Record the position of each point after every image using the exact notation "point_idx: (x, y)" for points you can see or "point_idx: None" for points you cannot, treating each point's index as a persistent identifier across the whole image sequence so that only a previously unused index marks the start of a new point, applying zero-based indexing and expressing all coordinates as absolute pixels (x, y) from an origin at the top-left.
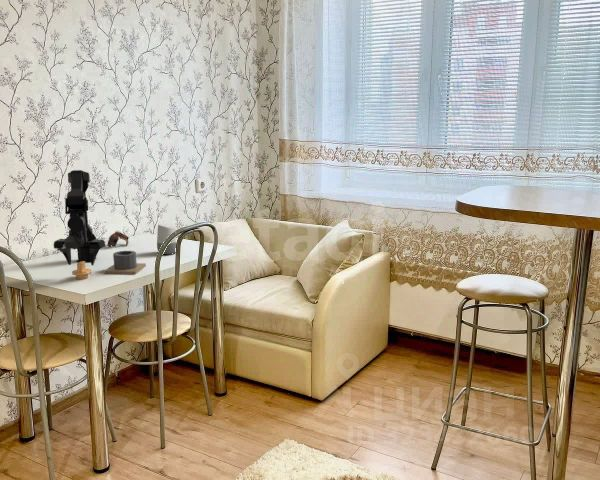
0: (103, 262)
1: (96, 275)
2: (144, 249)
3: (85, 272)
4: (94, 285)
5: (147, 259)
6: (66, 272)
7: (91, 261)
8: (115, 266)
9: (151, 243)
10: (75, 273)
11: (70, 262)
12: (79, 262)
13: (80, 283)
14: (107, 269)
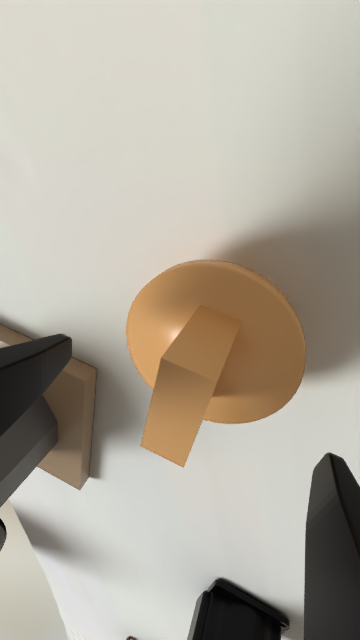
0: (158, 544)
1: None
2: (67, 582)
3: (160, 294)
4: (59, 8)
5: None
6: None
7: (23, 352)
8: None
9: (70, 611)
10: (260, 284)
11: (318, 490)
12: (193, 432)
13: (212, 120)
14: (77, 401)
